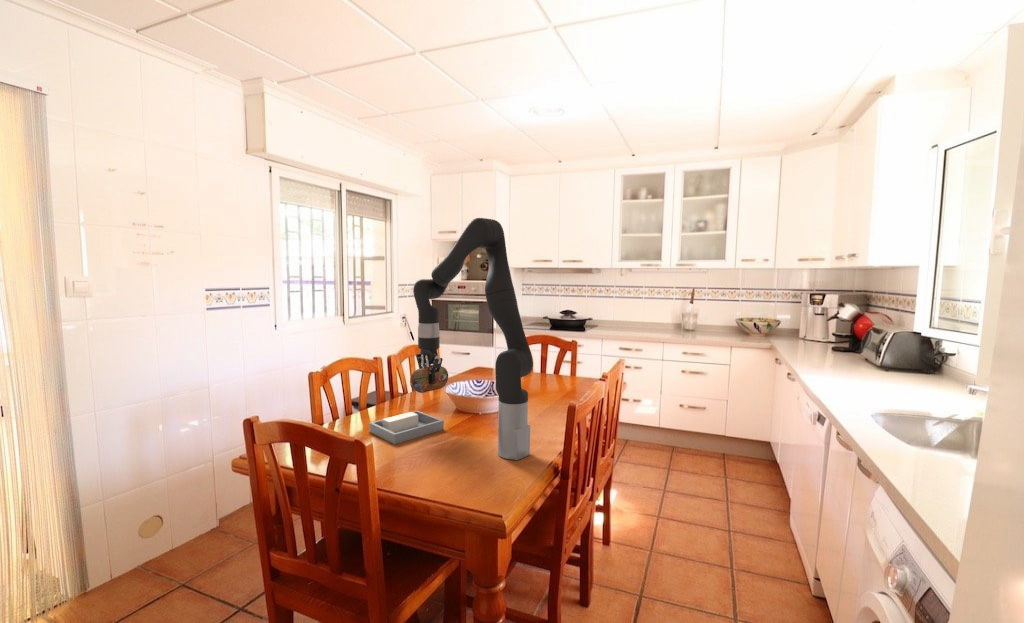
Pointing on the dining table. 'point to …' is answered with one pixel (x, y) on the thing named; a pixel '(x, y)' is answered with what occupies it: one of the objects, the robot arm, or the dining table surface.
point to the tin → (421, 380)
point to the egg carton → (400, 421)
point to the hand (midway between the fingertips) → (429, 383)
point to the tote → (408, 429)
